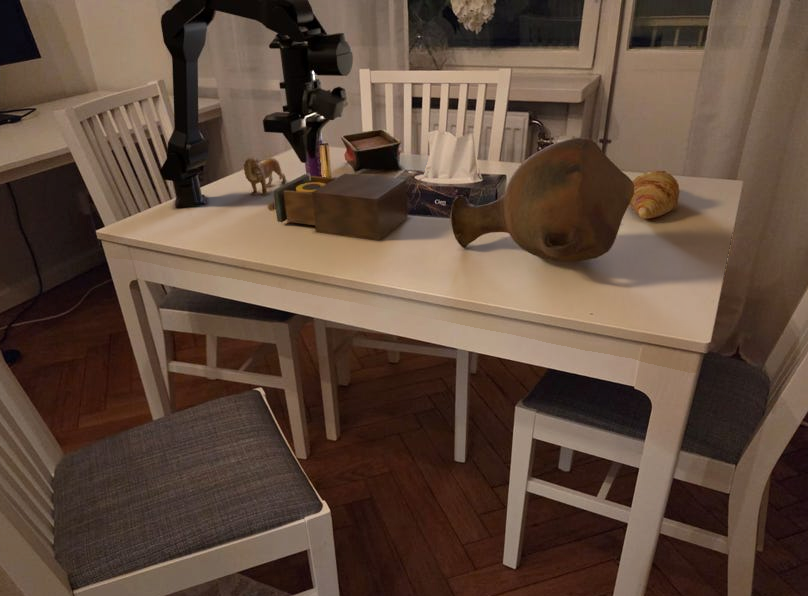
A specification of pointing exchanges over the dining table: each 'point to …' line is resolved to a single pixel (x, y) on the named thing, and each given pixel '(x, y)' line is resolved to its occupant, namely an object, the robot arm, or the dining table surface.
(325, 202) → the cabinet
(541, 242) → the jug
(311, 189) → the tape roll
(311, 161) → the container
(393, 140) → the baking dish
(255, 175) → the lion figurine
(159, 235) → the dining table surface
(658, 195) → the croissant
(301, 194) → the drawer
